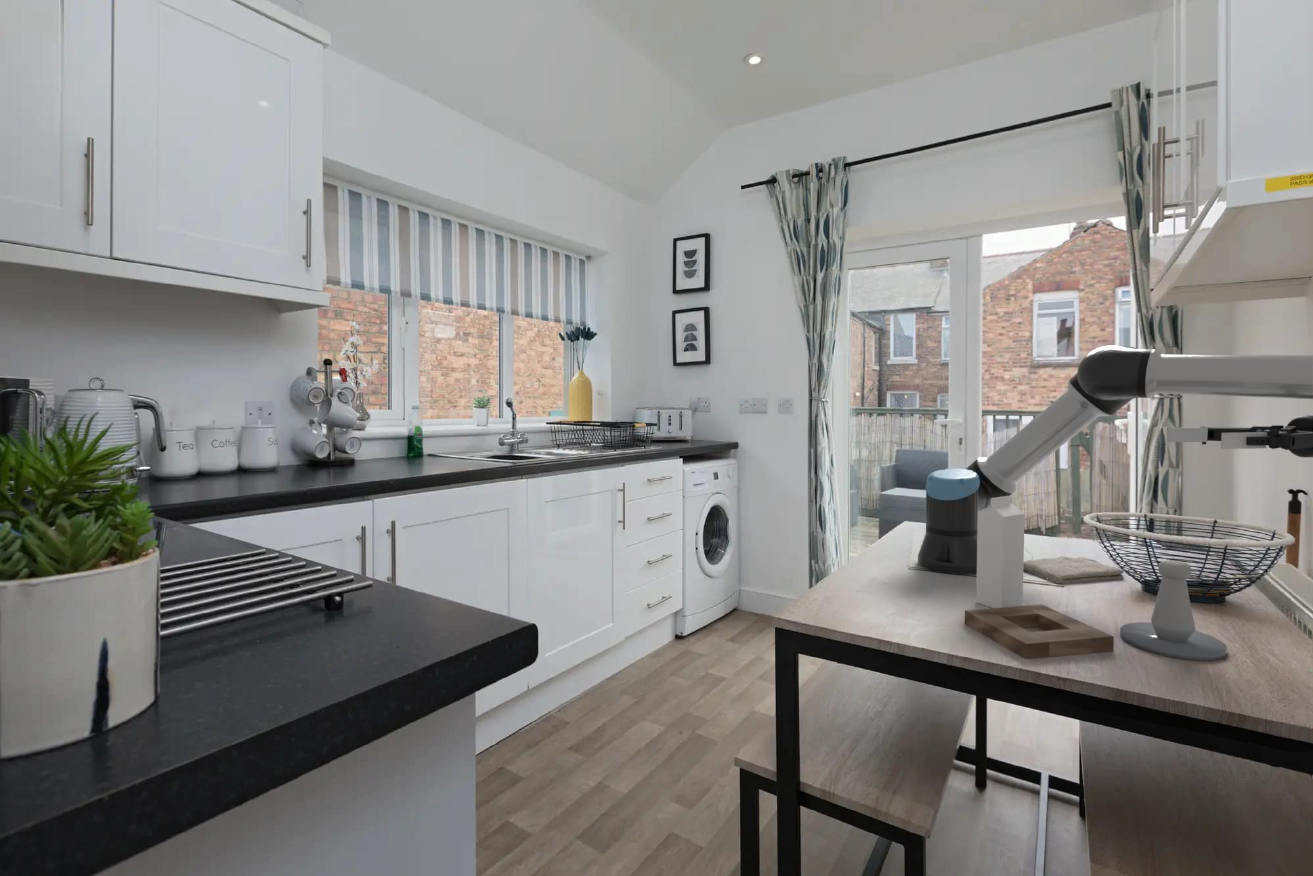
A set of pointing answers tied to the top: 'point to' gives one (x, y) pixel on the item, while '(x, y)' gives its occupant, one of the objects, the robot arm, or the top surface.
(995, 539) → the milk
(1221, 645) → the coaster
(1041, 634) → the socket block
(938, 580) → the top surface
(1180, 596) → the salt shaker
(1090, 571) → the washcloth
